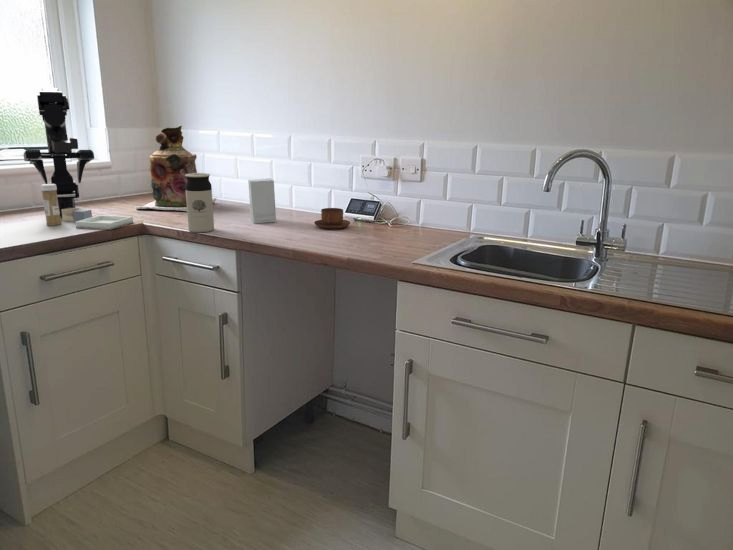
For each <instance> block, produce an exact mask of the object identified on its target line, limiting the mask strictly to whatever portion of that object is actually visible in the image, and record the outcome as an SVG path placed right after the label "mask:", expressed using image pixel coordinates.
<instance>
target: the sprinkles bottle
mask: <svg viewBox="0 0 733 550" xmlns="http://www.w3.org/2000/svg"><path fill="white" fill-rule="evenodd" d="M40 191H41V194H42V202H43V203H42V204H43V208H44V209H43V210H44V216H45V221H46V225H47V226H59V225H62V220H61V216H60V211H59V204H58V198H57V196H58V195H57V192H56V191H57V187H56V184H49V183H47V184H45V183H43V184H40Z"/></svg>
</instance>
